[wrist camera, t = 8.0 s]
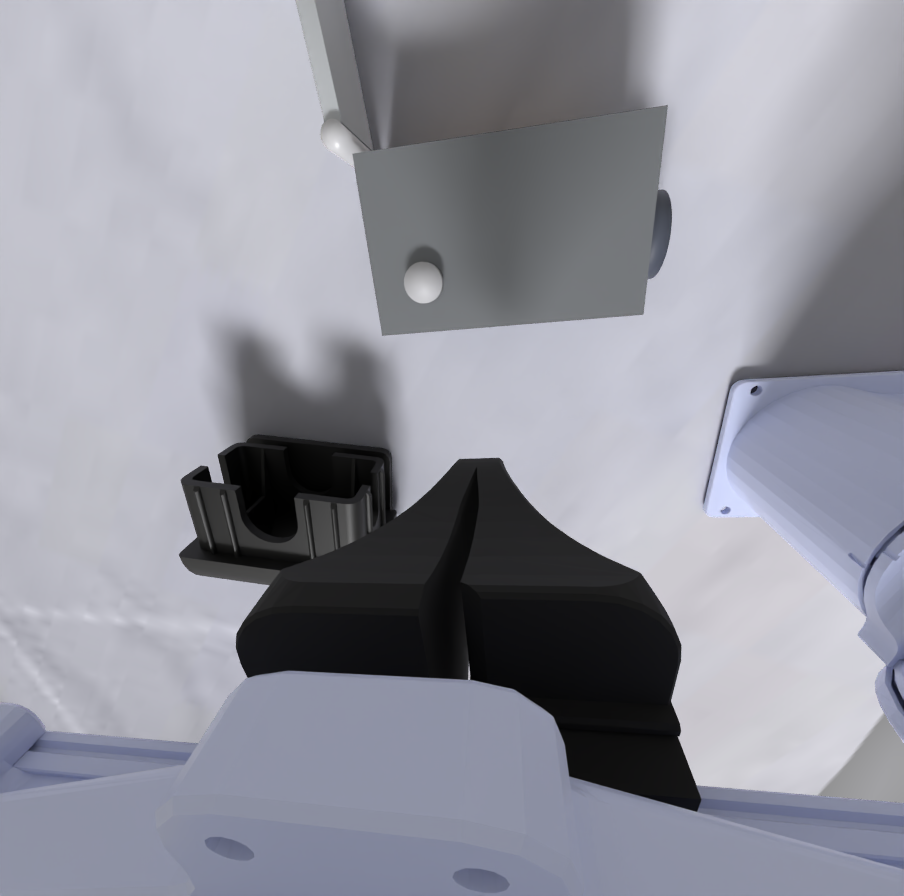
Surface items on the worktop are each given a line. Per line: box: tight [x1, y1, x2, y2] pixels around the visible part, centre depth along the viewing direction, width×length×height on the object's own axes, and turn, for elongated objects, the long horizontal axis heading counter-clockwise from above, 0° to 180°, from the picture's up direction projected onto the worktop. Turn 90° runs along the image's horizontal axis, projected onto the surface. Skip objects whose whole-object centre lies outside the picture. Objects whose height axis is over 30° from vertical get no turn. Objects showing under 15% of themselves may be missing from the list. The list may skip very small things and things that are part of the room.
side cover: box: [296, 0, 374, 168], centre depth 13 cm, size 9×1×4 cm, turn 9°
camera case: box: [352, 105, 672, 336], centre depth 15 cm, size 11×6×5 cm, turn 95°
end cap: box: [179, 435, 396, 585], centre depth 21 cm, size 10×7×7 cm
